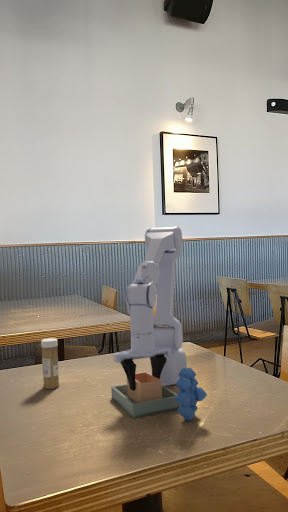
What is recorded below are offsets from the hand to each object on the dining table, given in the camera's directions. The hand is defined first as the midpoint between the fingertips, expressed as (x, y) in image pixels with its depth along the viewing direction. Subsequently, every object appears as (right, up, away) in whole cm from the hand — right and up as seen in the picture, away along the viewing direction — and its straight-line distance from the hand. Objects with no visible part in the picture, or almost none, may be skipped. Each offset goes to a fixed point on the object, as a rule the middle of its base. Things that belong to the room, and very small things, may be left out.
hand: (144, 387), depth 109 cm
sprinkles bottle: (-26, -5, +16) cm, 31 cm away
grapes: (+11, -4, -12) cm, 16 cm away
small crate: (0, -3, 0) cm, 3 cm away
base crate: (0, -4, 0) cm, 4 cm away
